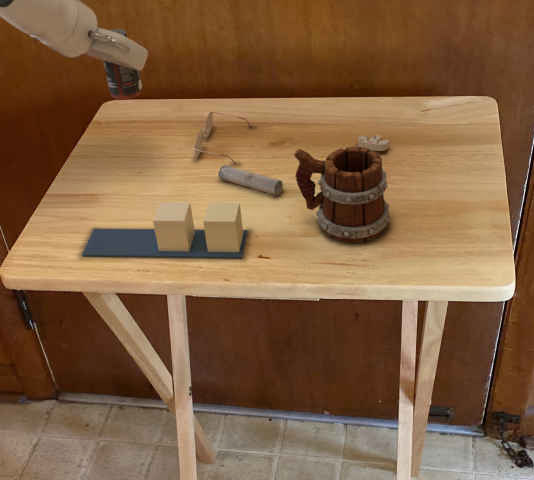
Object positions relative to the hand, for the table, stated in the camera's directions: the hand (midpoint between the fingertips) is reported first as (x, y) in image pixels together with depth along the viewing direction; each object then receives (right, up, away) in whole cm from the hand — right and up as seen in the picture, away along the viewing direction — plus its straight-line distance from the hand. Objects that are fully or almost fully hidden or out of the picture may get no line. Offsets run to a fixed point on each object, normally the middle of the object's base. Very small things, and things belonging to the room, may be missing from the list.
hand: (123, 61), depth 145 cm
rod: (+23, -23, -2) cm, 32 cm away
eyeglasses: (+18, -13, +9) cm, 24 cm away
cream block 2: (+19, -34, -15) cm, 42 cm away
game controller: (+43, -17, +2) cm, 47 cm away
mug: (+38, -31, -13) cm, 50 cm away
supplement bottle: (0, -5, +4) cm, 6 cm away
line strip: (+9, -34, -13) cm, 37 cm away
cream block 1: (+11, -33, -14) cm, 38 cm away
